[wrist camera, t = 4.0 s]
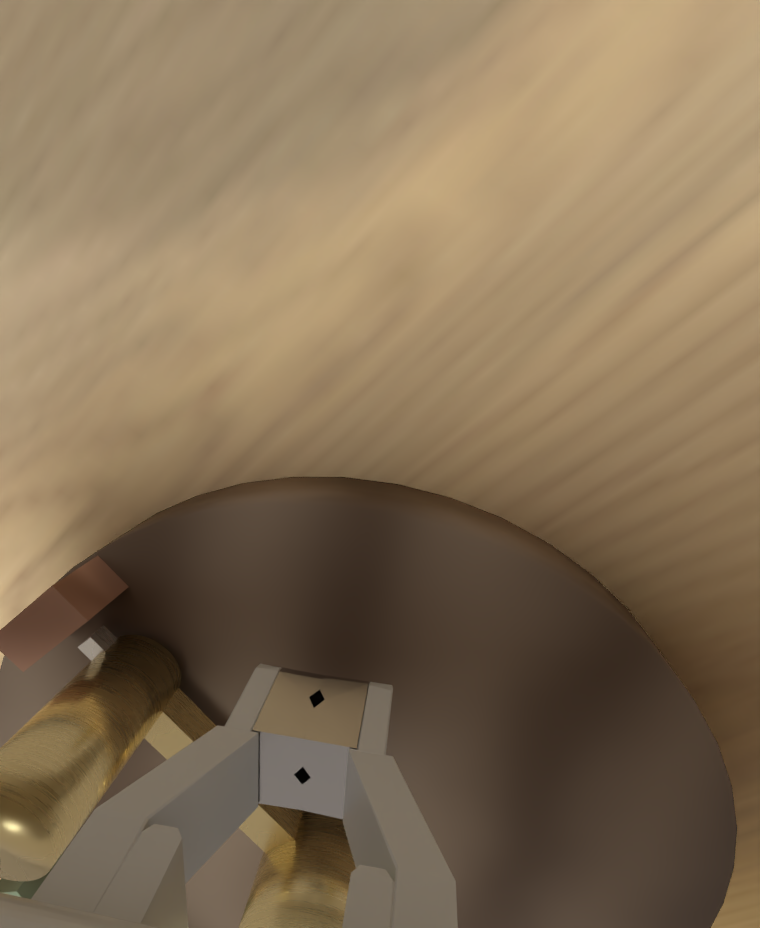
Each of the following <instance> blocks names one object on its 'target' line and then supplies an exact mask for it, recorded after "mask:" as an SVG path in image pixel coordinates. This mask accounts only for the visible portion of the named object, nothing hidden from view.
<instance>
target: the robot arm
mask: <svg viewBox="0 0 760 928" xmlns="http://www.w3.org/2000/svg"><path fill="white" fill-rule="evenodd" d="M369 683H370V684H369ZM392 693H393V686H392V685H388V684H382V683H375V682H368V681H361V680H354V679H348V678H341V677H335V676H328V675H326V676H325V675H320V674H315V673H310V672H304V671H299V670H294V669H289V668H283V667H282V668H280V667H275V666H270V665H265V664H259V665H258V666H257V667H256V668H255V670H254V672H253V673H252V675H251V677H250V679H249V681H248V683H247V685H246V687H245V688H244V690H243V692H242V694H241V696H240V698H239V700H238V702H237V704H236V705H235V707H234V709H233V711H232V713H231V715H230V717H229V719H228V720H227V722H226V724H225V726H218V725H217V726H216V727H214V728H213V729H211V730H210V731H208V732H207V733H206V734H204V735H203V736H201V737H200V738H198V739H197V740H195V741H194V742H192V743H191V744H189V745H188V746H187V747H185V748H184V749H182V750H181V751H179V752H178V753H176V754H175V755H173V756H172V757H170V758H169V759H167V760H166V761H165V762H163V763H162V764H160V765H159V766H157V767H156V768H154V769H153V770H151V771H150V772H148V773H147V774H145V775H144V776H143V777H141V778H140V779H138V780H137V781H135V782H134V783H132V784H131V785H129V786H128V787H126V788H125V789H123V790H122V791H121V792H119V793H118V794H116V795H115V796H113V797H112V798H110V799H109V800H107V801H106V802H104V803H103V804H101V805H100V806H99V807H97V808H96V809H95V810H94V811H93V813H92V814H91V816H90V817H89V818H88V820H87V821H86V823H85V824H84V825H83V827H82V828H81V830H80V831H79V832H78V834H77V835H76V837H75V838H74V839H73V841H72V842H71V844H70V845H69V846H68V848H67V849H66V851H65V852H64V853H63V855H62V856H61V858H60V859H59V860H58V862H57V863H56V865H55V866H54V867H53V869H52V870H51V872H50V873H49V874H48V876H47V877H46V879H45V880H44V881H43V883H42V884H41V886H40V887H39V888H38V890H37V891H36V893H35V894H34V895H33V897H32V898H31V899H27V898H23V897H18V896H14V895H9V894H5V893H0V928H188V915H187V902H186V888H185V884H186V883H187V882H188V881H189V879H190V878H191V877H192V876H193V875H194V874H195V873H196V872H197V871H198V870H199V869H200V868H201V867H202V866H203V865H204V864H205V862H206V861H207V860H208V859H209V858H210V857H211V856H212V855H213V854H214V853H215V852H216V851H217V850H218V849H219V848H220V847H221V846H222V844H223V843H224V842H225V841H226V840H227V839H228V838H229V837H230V836H231V835H232V834H233V833H234V832H235V831H236V830H237V829H238V828H239V826H240V825H241V824H242V823H243V822H244V821H245V820H246V819H247V818H248V817H249V816H250V815H251V814H252V813H253V812H254V811H255V810H256V808H257V807H258V803H259V804H266V805H272V806H279V807H285V808H291V809H298V810H303V811H308V812H312V813H317V814H321V815H325V816H330V817H334V818H339V819H343V825H344V829H345V832H346V836H347V839H348V843H349V846H350V850H351V853H352V856H353V860H354V863H355V867H356V869H355V870H353V871H352V872H351V876H350V882H349V888H348V894H347V900H346V906H345V913H344V919H343V925H342V928H458V923H457V899H456V881H455V879H454V877H453V875H452V873H451V871H450V869H449V867H448V865H447V863H446V861H445V859H444V857H443V855H442V853H441V851H440V849H439V847H438V845H437V843H436V841H435V839H434V837H433V835H432V833H431V831H430V829H429V827H428V825H427V823H426V821H425V819H424V817H423V815H422V813H421V811H420V809H419V807H418V805H417V803H416V801H415V799H414V797H413V795H412V793H411V791H410V789H409V787H408V785H407V783H406V781H405V779H404V777H403V775H402V773H401V771H400V769H399V767H398V765H397V763H396V761H395V760H394V758H393V756H389V755H386V748H387V739H388V729H389V720H390V711H391V702H392Z"/></svg>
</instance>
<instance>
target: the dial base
mask: <svg viewBox="0 0 760 928" xmlns="http://www.w3.org/2000/svg"><path fill="white" fill-rule="evenodd" d="M102 626H105V627H106V628H107V629H108V630H109V631H110V632H111V633H112V634H113V635H114V636H115V637H116V638H118V637H120V636H124V635H141V636H145V637H148V638H151V639H153V640H155V641H157V642H158V643H160V644H161V645H163V646H164V647H165V648H166V649H168V650H169V651H170V653H171V654H172V655H173V656H174V658H175V659H176V661H177V662H178V664H179V667H180V670H181V676H182V679H181V685H180V688H179V689H180V690H181V691H182V692H183V693H184V694H185V695H186V696H187V697H188V698H189V699H190V700H191V701H192V702H193V703H194V704H195V705H196V706H197V707H198V708H199V709H200V710H201V711H202V712H203V713H204V714H205V715H206V716H207V717H208V718H209V719H210V720H211V721H212V722H213V723H214V724H215V725H218V726H225V724H226V722H227V720H228V719H229V717H230V715H231V713H232V711H233V709H234V707H235V705H236V704H237V702H238V700H239V698H240V696H241V694H242V692H243V690H244V688H245V687H246V685H247V683H248V681H249V679H250V677H251V675H252V673H253V672H254V670H255V668H256V667H257V666H258V665H259V664H265V665H270V666H275V667H280V668H282V667H283V668H289V669H294V670H299V671H304V672H310V673H315V674H320V675H325V676H326V675H328V676H335V677H341V678H348V679H354V680H361V681H368V682H375V683H382V684H388V685H392V686H393V693H392V702H391V711H390V720H389V729H388V739H387V748H386V755H389V756H393V758H394V760H395V761H396V763H397V765H398V767H399V769H400V771H401V773H402V775H403V777H404V779H405V781H406V783H407V785H408V787H409V789H410V791H411V793H412V795H413V797H414V799H415V801H416V803H417V805H418V807H419V809H420V811H421V813H422V815H423V817H424V819H425V821H426V823H427V825H428V827H429V829H430V831H431V833H432V835H433V837H434V839H435V841H436V843H437V845H438V847H439V849H440V851H441V853H442V855H443V857H444V859H445V861H446V863H447V865H448V867H449V869H450V871H451V873H452V875H453V877H454V879H455V881H456V899H457V923H458V928H711V926H712V924H713V922H714V920H715V918H716V916H717V914H718V913H719V911H720V909H721V907H722V905H723V903H724V899H725V896H726V892H727V889H728V886H729V882H730V879H731V875H732V872H733V868H734V859H735V846H736V834H737V825H736V817H735V809H734V800H733V792H732V786H731V783H730V780H729V777H728V774H727V771H726V767H725V764H724V761H723V758H722V755H721V752H720V749H719V746H718V743H717V741H716V740H715V738H714V736H713V734H712V732H711V730H710V729H709V727H708V725H707V723H706V721H705V719H704V717H703V716H702V714H701V712H700V710H699V708H698V706H697V704H696V703H695V701H694V699H693V698H692V696H691V695H690V694H689V692H688V691H687V689H686V688H685V687H684V685H683V684H682V682H681V681H680V680H679V678H678V677H677V675H676V674H675V672H674V671H673V670H672V668H671V667H670V665H669V664H668V663H667V661H666V660H665V658H664V657H663V656H662V654H661V653H660V651H659V650H658V648H657V647H656V646H655V644H654V643H653V642H652V641H651V639H650V638H649V637H648V635H647V634H646V633H645V631H644V630H643V629H642V628H641V626H640V625H639V624H638V622H637V621H636V620H635V619H634V617H633V616H632V615H631V613H630V612H629V611H628V609H627V608H626V607H625V606H623V605H622V604H621V603H620V602H619V601H618V600H617V599H616V598H615V597H614V596H613V595H612V594H611V593H610V592H609V591H608V590H607V589H606V588H605V587H604V586H603V585H602V584H601V583H600V582H599V581H597V580H596V579H595V578H594V577H593V576H592V575H591V574H590V573H588V572H587V571H586V570H584V569H583V568H582V567H580V566H579V565H577V564H576V563H575V562H573V561H572V560H571V559H569V558H568V557H566V556H565V555H564V554H562V553H561V552H560V551H558V550H557V549H555V548H554V547H553V546H551V545H550V544H548V543H546V542H545V541H543V540H541V539H539V538H537V537H535V536H534V535H532V534H530V533H528V532H526V531H524V530H523V529H521V528H519V527H517V526H515V525H513V524H512V523H510V522H508V521H506V520H504V519H502V518H500V517H498V516H495V515H492V514H490V513H487V512H485V511H482V510H480V509H477V508H475V507H472V506H469V505H467V504H464V503H462V502H459V501H457V500H454V499H452V498H448V497H444V496H440V495H437V494H433V493H429V492H425V491H421V490H417V489H413V488H409V487H405V486H401V485H397V484H390V483H382V482H374V481H367V480H359V479H351V478H336V477H290V478H283V479H275V480H267V481H259V482H252V483H244V484H239V485H235V486H232V487H228V488H224V489H221V490H217V491H213V492H210V493H206V494H202V495H198V496H195V497H193V498H191V499H189V500H186V501H184V502H182V503H179V504H177V505H175V506H172V507H170V508H168V509H166V510H163V511H161V512H159V513H156V514H155V515H153V516H152V517H150V518H149V519H147V520H145V521H144V522H142V523H141V524H139V525H138V526H136V527H134V528H133V529H131V530H130V531H128V532H127V533H125V534H123V535H122V536H120V537H119V538H117V539H116V540H114V541H113V542H111V543H110V544H108V545H107V546H105V547H103V548H102V549H100V550H99V551H97V552H96V553H94V554H93V555H91V556H90V557H88V558H87V559H85V560H84V561H82V562H80V563H79V564H77V565H76V566H74V567H73V568H72V569H71V570H70V571H69V572H67V573H66V574H65V575H64V576H63V577H62V578H61V579H60V580H59V581H58V582H57V583H55V584H54V585H52V586H51V587H50V588H49V589H48V590H47V591H45V592H44V593H43V594H42V595H41V596H40V597H38V598H37V599H36V600H35V601H34V602H33V603H31V604H30V605H29V606H28V607H27V608H26V609H24V610H23V611H22V612H21V613H20V614H19V615H17V616H16V617H15V618H14V619H13V620H12V621H10V622H9V623H8V624H7V625H6V626H5V627H3V628H2V629H1V630H0V651H1V652H2V653H3V654H4V655H5V656H4V658H3V662H2V665H1V669H0V748H1V747H2V746H3V745H4V744H5V743H6V742H7V741H8V740H9V739H10V738H11V737H12V736H13V735H14V734H16V733H17V732H18V731H19V730H20V729H21V728H22V727H23V726H24V725H25V724H26V723H27V722H28V721H29V720H30V719H31V718H32V717H33V716H34V715H35V714H36V713H37V712H38V711H39V710H41V709H42V708H43V707H44V706H45V705H46V704H47V703H48V702H49V701H50V700H51V699H52V698H53V697H54V696H55V695H56V694H57V693H58V692H59V691H60V690H61V689H62V688H63V687H64V686H66V685H67V684H68V683H69V682H70V681H71V680H72V679H73V678H74V677H75V676H76V675H77V674H78V673H79V672H80V671H81V670H82V669H83V668H84V667H85V666H86V665H87V664H88V663H89V662H91V660H90V659H89V658H88V657H87V656H86V655H85V654H84V653H83V652H82V651H81V650H80V649H79V648H78V646H80V645H81V644H82V643H83V642H84V641H85V640H86V639H87V638H89V637H90V636H91V635H92V634H93V633H95V632H96V631H97V630H99V629H100V628H101V627H102ZM369 684H370V683H369ZM166 760H167V759H166V758H165V757H164V756H163V755H161V754H160V753H159V752H158V751H157V750H156V749H155V748H154V747H153V746H152V745H151V744H150V743H149V742H148V741H147V740H146V739H145V738H144V739H143V741H142V742H141V743H140V745H139V746H138V748H137V749H136V750H135V752H134V753H133V755H132V756H131V757H130V759H129V760H128V762H127V763H126V764H125V766H124V767H123V769H122V770H121V771H120V773H119V774H118V776H117V777H116V778H115V780H114V781H113V783H112V784H111V785H110V787H109V788H108V790H107V791H106V792H105V794H104V795H103V797H102V798H101V800H100V801H99V802H98V804H97V805H96V807H95V808H94V809H93V811H94V810H95V809H96V808H97V807H99V806H100V805H101V804H103V803H104V802H106V801H107V800H109V799H110V798H112V797H113V796H115V795H116V794H118V793H119V792H121V791H122V790H123V789H125V788H126V787H128V786H129V785H131V784H132V783H134V782H135V781H137V780H138V779H140V778H141V777H143V776H144V775H145V774H147V773H148V772H150V771H151V770H153V769H154V768H156V767H157V766H159V765H160V764H162V763H163V762H165V761H166ZM93 811H92V812H91V814H92V813H93ZM91 814H90V815H89V816H88V818H89V817H90V816H91ZM88 818H87V819H86V821H87V820H88ZM86 821H85V822H84V823H83V825H84V824H85V823H86ZM83 825H82V826H81V828H82V827H83ZM81 828H80V829H79V830H78V832H79V831H80V830H81ZM78 832H77V833H76V835H77V834H78ZM76 835H75V836H74V837H73V839H74V838H75V837H76ZM73 839H72V840H71V842H72V841H73ZM71 842H70V843H69V844H68V846H69V845H70V844H71ZM68 846H67V847H66V849H67V848H68ZM66 849H65V850H64V851H63V853H64V852H65V851H66ZM263 852H264V851H263V850H262V849H261V848H260V847H258V846H257V845H256V844H255V843H254V842H253V841H252V840H251V839H250V838H249V837H248V836H247V835H246V834H245V833H244V832H243V831H242V830H241V829H239V828H238V829H237V830H236V831H235V832H234V833H233V834H232V835H231V836H230V837H229V838H228V839H227V840H226V841H225V842H224V843H223V844H222V846H221V847H220V848H219V849H218V850H217V851H216V852H215V853H214V854H213V855H212V856H211V857H210V858H209V859H208V860H207V861H206V862H205V864H204V865H203V866H202V867H201V868H200V869H199V870H198V871H197V872H196V873H195V874H194V875H193V876H192V877H191V878H190V879H189V881H188V882H187V883H186V884H185V888H186V902H187V915H188V928H239V925H240V922H241V919H242V916H243V913H244V910H245V907H246V904H247V901H248V898H249V894H250V891H251V888H252V885H253V882H254V879H255V876H256V873H257V870H258V867H259V864H260V861H261V858H262V855H263ZM63 853H62V854H61V856H62V855H63ZM61 856H60V857H59V858H58V860H59V859H60V858H61ZM58 860H57V861H56V863H57V862H58ZM56 863H55V864H54V865H53V867H54V866H55V865H56ZM53 867H52V868H51V870H52V869H53ZM51 870H50V871H49V872H48V873H47V874H46V875H45V876H43V877H41V878H39V879H37V880H33V881H11V880H6V879H1V880H0V893H5V894H9V895H14V896H18V897H23V898H27V899H31V898H32V897H33V895H34V894H35V893H36V891H37V890H38V888H39V887H40V886H41V884H42V883H43V881H44V880H45V879H46V877H47V876H48V874H49V873H50V872H51Z"/></svg>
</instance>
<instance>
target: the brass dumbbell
mask: <svg viewBox="0 0 760 928" xmlns="http://www.w3.org/2000/svg"><path fill="white" fill-rule="evenodd" d="M78 648H79V649H80V650H81V651H82V652H83V653H84V654H85V655H86V656H87V657H88V658H89V659H90V660H91V662H89V663H88V664H87V665H86V666H85V667H84V668H83V669H82V670H81V671H80V672H79V673H78V674H77V675H76V676H75V677H74V678H73V679H72V680H71V681H70V682H69V683H68V684H67V685H66V686H64V687H63V688H62V689H61V690H60V691H59V692H58V693H57V694H56V695H55V696H54V697H53V698H52V699H51V700H50V701H49V702H48V703H47V704H46V705H45V706H44V707H43V708H42V709H41V710H39V711H38V712H37V713H36V714H35V715H34V716H33V717H32V718H31V719H30V720H29V721H28V722H27V723H26V724H25V725H24V726H23V727H22V728H21V729H20V730H19V731H18V732H17V733H16V734H14V735H13V736H12V737H11V738H10V739H9V740H8V741H7V742H6V743H5V744H4V745H3V746H2V747H1V748H0V878H2V879H6V880H11V881H33V880H37V879H39V878H41V877H43V876H45V875H46V874H47V873H48V872H49V871H50V870H51V868H52V867H53V865H54V864H55V863H56V861H57V860H58V858H59V857H60V856H61V854H62V853H63V851H64V850H65V849H66V847H67V846H68V844H69V843H70V842H71V840H72V839H73V837H74V836H75V835H76V833H77V832H78V830H79V829H80V828H81V826H82V825H83V823H84V822H85V821H86V819H87V818H88V816H89V815H90V814H91V812H92V811H93V809H94V808H95V807H96V805H97V804H98V802H99V801H100V800H101V798H102V797H103V795H104V794H105V792H106V791H107V790H108V788H109V787H110V785H111V784H112V783H113V781H114V780H115V778H116V777H117V776H118V774H119V773H120V771H121V770H122V769H123V767H124V766H125V764H126V763H127V762H128V760H129V759H130V757H131V756H132V755H133V753H134V752H135V750H136V749H137V748H138V746H139V745H140V743H141V742H142V741H143V739H144V738H145V739H146V740H147V741H148V742H149V743H150V744H151V745H152V746H153V747H154V748H155V749H156V750H157V751H158V752H159V753H160V754H161V755H163V756H164V757H165V758H166V759H169V758H170V757H172V756H173V755H175V754H176V753H178V752H179V751H181V750H182V749H184V748H185V747H187V746H188V745H189V744H191V743H192V742H194V741H195V740H197V739H198V738H200V737H201V736H203V735H204V734H206V733H207V732H208V731H210V730H211V729H213V728H214V727H216V726H217V725H215V724H214V723H213V722H212V721H211V720H210V719H209V718H208V717H207V716H206V715H205V714H204V713H203V712H202V711H201V710H200V709H199V708H198V707H197V706H196V705H195V704H194V703H193V702H192V701H191V700H190V699H189V698H188V697H187V696H186V695H185V694H184V693H183V692H182V691H181V690H180V689H179V688H180V685H181V679H182V676H181V670H180V667H179V664H178V662H177V661H176V659H175V658H174V656H173V655H172V654H171V653H170V651H169V650H168V649H166V648H165V647H164V646H163V645H161V644H160V643H158V642H157V641H155V640H153V639H151V638H148V637H145V636H141V635H124V636H120V637H118V638H116V637H115V636H114V635H113V634H112V633H111V632H110V631H109V630H108V629H107V628H106V627H105V626H102V627H101V628H100V629H99V630H97V631H96V632H95V633H93V634H92V635H91V636H90V637H89V638H87V639H86V640H85V641H84V642H83V643H82V644H81V645H80V646H78ZM239 829H241V830H242V831H243V832H244V833H245V834H246V835H247V836H248V837H249V838H250V839H251V840H252V841H253V842H254V843H255V844H256V845H257V846H258V847H260V848H261V849H262V850H263V851H264V852H263V855H262V858H261V861H260V864H259V867H258V870H257V873H256V876H255V879H254V882H253V885H252V888H251V891H250V894H249V898H248V901H247V904H246V907H245V910H244V913H243V916H242V919H241V922H240V925H239V928H342V925H343V919H344V913H345V906H346V900H347V894H348V888H349V882H350V876H351V872H352V871H353V870H355V869H356V867H355V863H354V860H353V856H352V853H351V850H350V846H349V843H348V839H347V836H346V832H345V829H344V825H343V819H339V818H334V817H330V816H325V815H321V814H317V813H312V812H308V811H303V810H298V809H291V808H285V807H279V806H272V805H266V804H259V803H258V807H257V808H256V810H255V811H254V812H253V813H252V814H251V815H250V816H249V817H248V818H247V819H246V820H245V821H244V822H243V823H242V824H241V825H240V826H239Z"/></svg>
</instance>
